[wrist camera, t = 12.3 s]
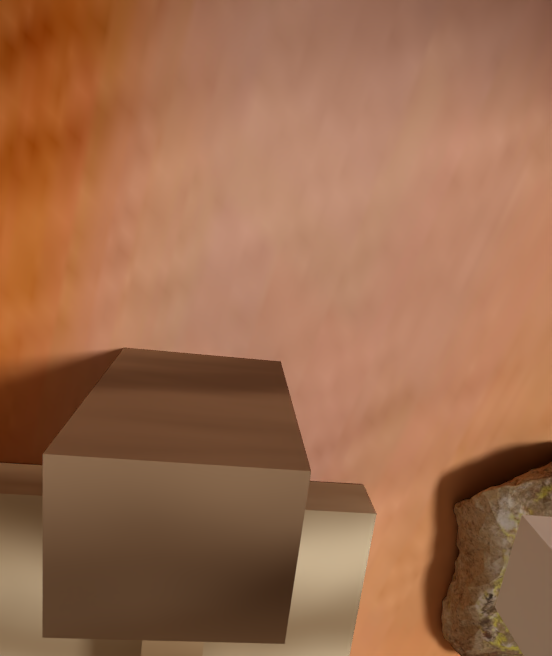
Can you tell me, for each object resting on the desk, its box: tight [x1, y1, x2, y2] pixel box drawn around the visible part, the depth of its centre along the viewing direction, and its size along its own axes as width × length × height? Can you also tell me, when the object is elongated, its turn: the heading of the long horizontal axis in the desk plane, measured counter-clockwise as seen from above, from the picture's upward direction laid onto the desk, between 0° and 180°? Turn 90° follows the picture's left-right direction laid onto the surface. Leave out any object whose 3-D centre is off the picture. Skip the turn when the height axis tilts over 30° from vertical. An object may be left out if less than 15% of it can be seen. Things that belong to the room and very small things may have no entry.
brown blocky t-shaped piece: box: [42, 348, 311, 656], centre depth 17 cm, size 15×6×8 cm, turn 173°
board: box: [0, 463, 376, 656], centre depth 20 cm, size 12×28×2 cm, turn 83°
